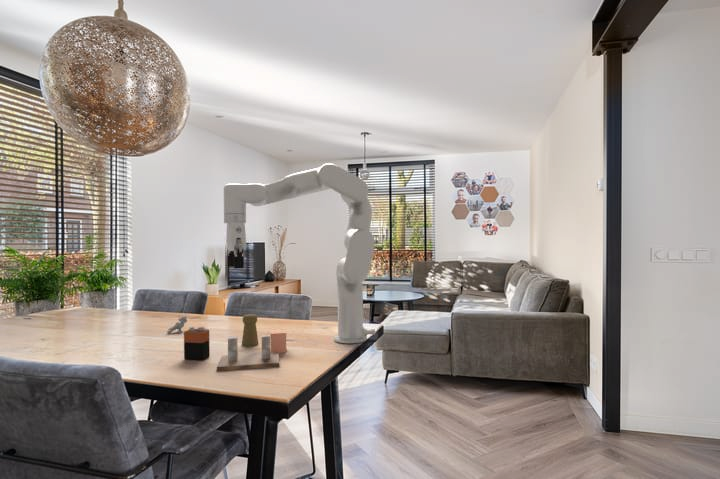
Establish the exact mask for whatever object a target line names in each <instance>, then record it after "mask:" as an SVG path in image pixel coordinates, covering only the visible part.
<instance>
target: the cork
mask: <svg viewBox="0 0 720 479" xmlns="http://www.w3.org/2000/svg"><path fill="white" fill-rule="evenodd" d="M257 322H258V316H257V314H253V313H248V314H244V315H243V317H242V323H243V332H242V340H241V346H242V347H245V348H246V347H248V348H249V347H256V346H258V345H259V337H258V329H257V324H256V323H257Z"/></svg>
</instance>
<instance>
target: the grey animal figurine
mask: <svg viewBox="0 0 720 479" xmlns="http://www.w3.org/2000/svg"><path fill="white" fill-rule="evenodd" d="M187 322H188V319H187V316H182V317H180V316H179V318H178V321H177V322H176V323H174V324H175V325H173V326H171V327H169V328H168V329H167V330H166V333H167V334H171V333H172V332H174V331H176V330H179V332H180V333H181V332H182V328H184V326H185V324H186V323H187Z"/></svg>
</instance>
